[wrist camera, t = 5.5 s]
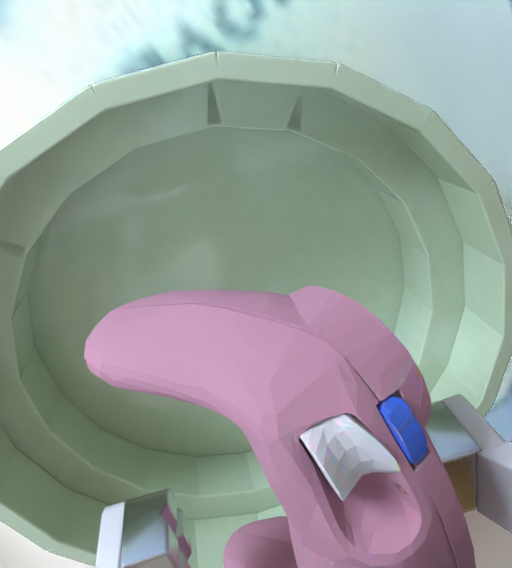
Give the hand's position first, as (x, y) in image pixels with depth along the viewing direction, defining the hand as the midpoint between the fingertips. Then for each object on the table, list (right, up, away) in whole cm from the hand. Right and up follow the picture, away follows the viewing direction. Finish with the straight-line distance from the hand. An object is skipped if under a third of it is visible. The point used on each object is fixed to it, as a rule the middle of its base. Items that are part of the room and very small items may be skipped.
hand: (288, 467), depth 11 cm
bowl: (-2, +3, +8) cm, 9 cm away
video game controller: (-1, +1, +2) cm, 2 cm away
